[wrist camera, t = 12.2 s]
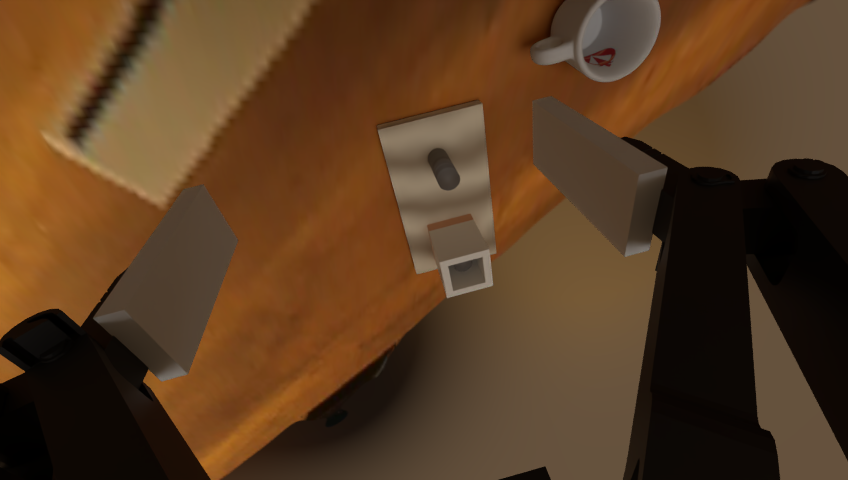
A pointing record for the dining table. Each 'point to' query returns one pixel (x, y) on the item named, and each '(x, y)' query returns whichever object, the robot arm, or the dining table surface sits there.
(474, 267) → the sleeve
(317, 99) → the dining table surface
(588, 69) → the cup
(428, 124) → the pin board
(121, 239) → the dining table surface
